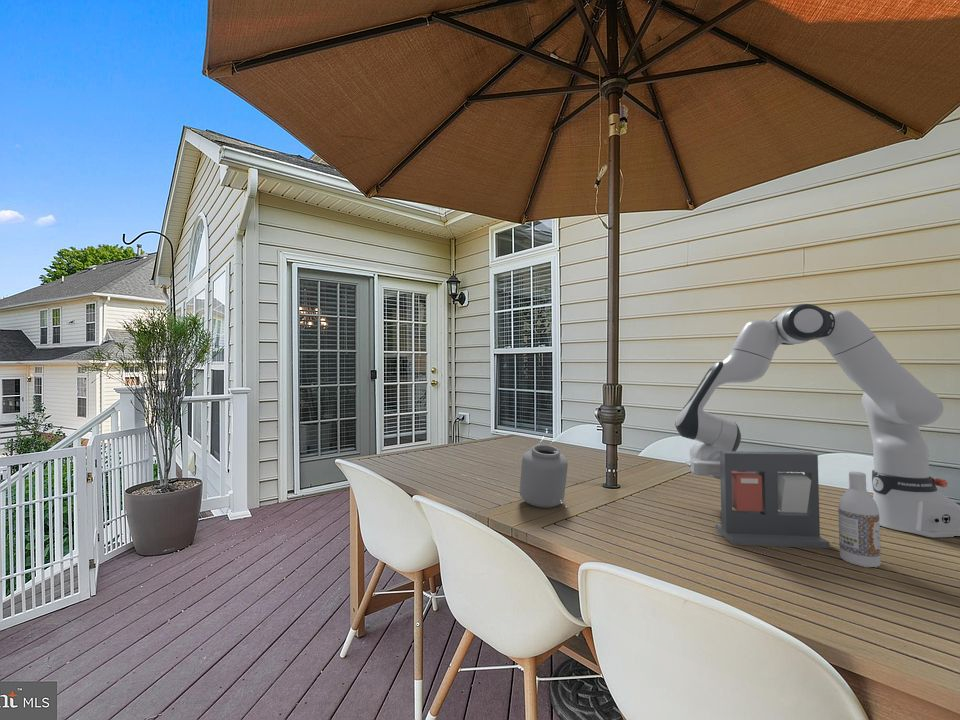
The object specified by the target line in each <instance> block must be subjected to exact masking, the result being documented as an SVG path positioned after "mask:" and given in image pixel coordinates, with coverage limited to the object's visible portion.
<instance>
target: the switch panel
mask: <svg viewBox="0 0 960 720" xmlns="http://www.w3.org/2000/svg"><path fill="white" fill-rule="evenodd" d="M818 456H819V455H818V454H816V453H814V452H810V451H808V452H805V451H803V452H802V451H796V452H795V451H746V450H745V451H742V450H741V451H739V450H738V451H737V450H736V451H720V479H721V480H720V479H719V480H720V511H721V512H720V513H721V515H720V516H721V520H720V521H721V523H716V528H715V530H716V531H717V532H718V533H720V534H721V535H722V537H724V538H725V539H726V540H727V541H729V543H731V544H732V545H741V546H743V545H744V546H763V547H767V546H768V547H783V548H785V547H786V548H787V547H791V548H808V549H809V548H812V549H814V548H815V549H830V541H828V540H826V539H825V538H823V537H821V529H820V524H821V523H820V494H819V493H820V488H819V486H820V485H819V459H818V458H819V457H818ZM731 471H759V475H761V476H762V511H737V510H736V509H733V507H732V479H731ZM777 472H789V473H803V474H804V475H805V476H806V477H808V478H809V479H810V480H811V487H810V494H809V501H808V508H807V513H799V512H781V511H779V509H778V476H777Z"/></svg>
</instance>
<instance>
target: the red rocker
mask: <svg viewBox="0 0 960 720" xmlns="http://www.w3.org/2000/svg"><path fill="white" fill-rule="evenodd" d="M731 479H732V509H733V510H737V511H762V476H761V475H759V474H757V473H755V472H731Z"/></svg>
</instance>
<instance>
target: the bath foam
mask: <svg viewBox="0 0 960 720" xmlns="http://www.w3.org/2000/svg"><path fill="white" fill-rule="evenodd" d="M848 485H849V486H848V487H849V488H848V489H847V490H846V491H845V492H844V493H843V494H842V495H841V497H840V499H839V503H838V509H837V510H838V511H837V512H838V540H839V546H838V547H839V557H840V558H841V560H843V561H844V562H846V563H848V562H849V564H851V565H854V564H855V565H854V566H857V565H859V567H862V566H865V567H864V568H868V567H875V568H879V567H880V566H881V561H882V560H881V530H880V529H881V527H880V520H879V510H878V506H877V504H876V502H875V501H874V499H873V496H872V495H871V494H870V492H869V491H868V490H867V475H866V473H864V472H860V471H849V472H848ZM878 566H879V567H878Z"/></svg>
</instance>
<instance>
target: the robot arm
mask: <svg viewBox="0 0 960 720" xmlns="http://www.w3.org/2000/svg"><path fill="white" fill-rule="evenodd" d="M737 335H738V336H737V337H736V340H735V341H734V343H733V345H732V347H731V350H730V352H729V354H728V355H727V356H726V357H725V358H724V359H723V360H722V361H717V362H715V363H713V364H712V365H711V367H710V368H709V369H708V370H707V372H706V374H704V376H703V377H702V379H701V381H700V383H699V384H698V386H697V387H696V389H695V391H694V392H693V393H692V395H691V397H690V398H689V400H688V401H687V402H686V404H685V405H684V407H683V408H682V409H681V410H680V412H679V413H678V414H677V416H676V419H675V422H674V425H675V426H674V427H675V429H676V431H677V433H679V435H680V436H681V437H682V438H684V439H685V438H686V439H688V440H695V441H696V442H697V443H695V444H693V445H692V446H691V448H690V449H689V457H690V459H689V461H686V462H684V465H685V466H686V467H689V470H690V472H691V473H692V474H693V475H696V476H707V477H708V476H709V477H710V476H711V477H713V478H715V479H717V480H720V481H721V479H720V451H737V450H738V448H739V446H740V444H741V441H742V435H741V430H740V428H739V427H740V426H739V425H738V424H737V422H736V421H733V420H730V419H728V418H725V417H722V416H719V415H716V414H713V413H710V412H707V411H705V410H704V407H705V406H706V404H708V401H709V400H710V398H711V397H712V396H713V394H714V392H715V391H716V390H717V388H718V387H720V386H721V385H725V384H731V383H732V384H734V383H738V384H740V383H741V384H742V383H743V384H744V383H745V384H747V383H752V382H755V381H757V380H759V379H762V378H763V377H764V376H765V374H766V373H767V371H768V369H769V367H770V364H771V361H772V360H773V357H774V354H775V352H776V351H777V349H778V347H780V345H787V346H790V345H792V346H793V345H799V344H800V345H801V344H804V343H808V342H809V341H813V340H815V341H817V342H819V343H820V344H822V345H823V346H824V347H825V348H826V350H827V351H828V353H829V354H830V355H831V356H832V358H833V359H834V360H835V362H836V364H837V365H838V366H839V367H840V368H841V370H842V371H843V372H844V373H845V375H846V377H847V378H848V379H850V380H851V381H852V382H853V383H855V384H856V385H857V386H858V387H859V388H860V390H862V391H863V394H862V397H861V405H862V407H863V409H864V411H865V415H866V420H867V424H868V429H869V432H870V436H871V442H872V451H873V452H872V455H873V456H872V457H873V469H872V471H871V484H872V490H873V496H872V498H873V499H874V501H875V502H876V504H877V506H878V510H879V520H880V526H881V527H884V528H888V529H891V530H896V531H899V532H903V533H904V532H906V533H911V534H914V535H915V534H916V535H918V536H919V535H920V536H922V537H923V536H924V537H927V538H934V539H935V538H955V537H954V536H960V504H958V503H957V502H955V501H954V500H952V499H951V498H949V497H948V496H946V495H944V494H943V493H941V492H940V491H938V488H937V487H941V488H947V487H948V486H949V485H948V484H949V483H948V481H947V480H945V479H942V478H938V477H937V478H933V477H932V476H930V462H929V460H930V458H929V457H930V456H929V447H928V445H927V443H926V442H925V440H924V438H923V435H922V432H921V430H920V427H922V426H926V425H930V424H932V423H933V424H934V423H935V422H936V421H938V420H939V419H940V418H941V416H942V414H943V412H944V404H943V400H942V399H941V398H940V397H939V396H938V395H937V394H936V393H934V392H932V391H931V390H930V389H928V388H927V387H926V386H925V385H923V384H922V383H921V382H920V380H918V379H917V378H916V377H915V376H914V375H913V374H912V373H910V371H908V370H907V369H906V368H905V367H904V366H902V364H900V363H899V362H898V361H897V360H896V359H895V357H893V356H892V354H891V353H890V351H889V350H888V349H887V348H886V347H885V346H884V345H883V343H882V341H881V340H879V339H878V337H877V336H876V335H875V334H874V332H873V331H872V330H871V328H869V326H868V325H867V324H866V323H865V322H863V321H862V320H861V318H859V317H858V316H857V315H855V313H853V312H851V311H850V310H848V309H838V310H836V309H835V310H832V311H828V310H826V309H823V308H821V307H820V306H817V305H815V304H810V303H800V304H796V305H794V306H791V307H788V308H786V309H784V310H783V311H781V312H780V313H778V314H777V315H776V316H774V317H773V318H772V319H770V320H768V321H767V320H763V319H754V320H751V321H750V320H749V321H748V322H747V323H745V325H744V326H743V328H742V329H741V330H740V332H739V334H737ZM731 472H755V473H757V474H759V471H731Z"/></svg>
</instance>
